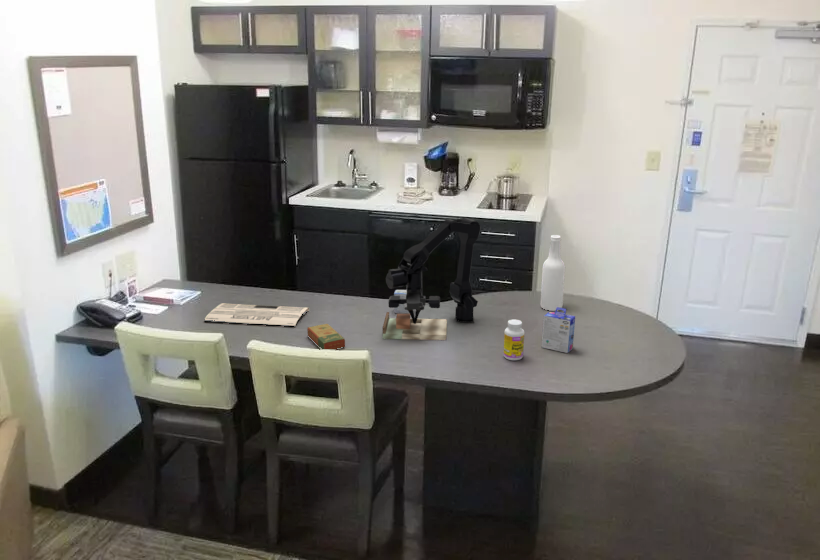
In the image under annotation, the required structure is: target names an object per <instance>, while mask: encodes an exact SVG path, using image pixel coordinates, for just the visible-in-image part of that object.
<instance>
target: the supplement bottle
mask: <svg viewBox="0 0 820 560" xmlns="http://www.w3.org/2000/svg"><path fill="white" fill-rule="evenodd" d="M522 327H523V322H522V320H520V319H515V318H514V319H513V318H512V319H508V321H507V327H506V328H505V329H504V333H503V334H504V337H503V357H504V358H505V359H507V360H509V361H520V360H521V359H523V357H524V345H525V330H524V329H523V328H522Z"/></svg>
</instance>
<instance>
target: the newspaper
mask: <svg viewBox="0 0 820 560" xmlns="http://www.w3.org/2000/svg"><path fill="white" fill-rule="evenodd" d="M306 311H309V312H310V307H303V306H302V307H301V306H300V307H299V306H283V305H282V306H281V305H262V304H261V305H260V304H243V303H242V304H241V303H239V304H238V303H223V302H222V303H219V304H218V305H217V306H216V307H214V308H213V309H212V310H211V311H209V313H208V314H207V315H206V316H205V318H204V319H205V320H213V321H214V320H215V321H225V322H236V323H249V324H268V325H289V326H296V327H297V325H296V324H297V322H298V320H299V319H300V318H301V316H303V315H302V314H303V313H304V312H306Z"/></svg>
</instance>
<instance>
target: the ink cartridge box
mask: <svg viewBox="0 0 820 560" xmlns="http://www.w3.org/2000/svg"><path fill="white" fill-rule="evenodd" d="M557 310H559V311H557ZM560 310H561V311H563V312H561V311H560ZM566 313H567V308H564V307H562V308H559V307H557V308H556V311H548V312H547V313H546V314H544V315H543V320H542V321H543V323H542V339H541V348H543V349H546V350H547V349H548V350H552V351H556V352H561V353H565V354H568V353H569V352H571V351H572V350H573V349H574V339H575V326H576V325H575V324H576V315H572V314H571V315H570V314H566Z"/></svg>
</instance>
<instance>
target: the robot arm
mask: <svg viewBox="0 0 820 560" xmlns="http://www.w3.org/2000/svg"><path fill="white" fill-rule="evenodd" d="M481 228H482V227H481V224H480V222H478V221H476V220H473V219H471V218H467V217H464V218H461V219H455V218H454V219H450V218H447V219H445V220H443V222H442V224H440V225H439V226H438V227H437V228H436V229H434V231H432V232H431V233H430V234H429V235H428V236H427V237H426V238H425V239H424V240H422V241H421V242H420V243H418V244H415V245H412V246H411V247H409V248H408V249H406V250H405V252H404V253H403V257H402V258H401V260H400V262H399V264H398V266H397V268H392V269H391V268H390V269H388V273H387V274H386V276H385V284H386V285H387V288H388V289H391V290H392V289H398V288H402V287H406V290H407V294H406V299H400V296H394V295H390V296H389V298H388V308H389V309H394V308H397V307H398V306H399V304H404V305H405V308H404V309H405V310H408V311H409V313H410V319H412V320H413V323H414V324H416V321H417V319H419V315H420V313H421V311H424V310H425V306H426V305H428V307H430V309H440V308H441V297H440V296H439V295H430V296H428V297H429V298H426V295H423V272H427V271H428V268H427V267H425V266H424V264H425V263H426V262H427V261H428V259H429V256H430V255H431V253H432V252H433V251H434V250H435V249H436V248H437V247H438V246H439V245H440V244H441V243H442V242H444V241H445V240H446V239H447V238H449V236H451V234H452V233H454V232H455V233H456V232H457V234H458V238H459V240H460V246H459V247H460V248H459V255H458V262H457V263H458V264H457V271H456V272H457V273H456V278H455V280H454V282H450V286H449V291H448V292H449V293H450V297H451V298H452V299H453V301H454V302H453V303H455V304H456V306H455V312H454V313H455V316H454V317H455V320H456V322H457V323H474V320H475V319H474V308H475V307H478V302H479V301H478V300H477V299H476V298H475V297H474V296H473V289H472V288H473V287H472V284H471V281H470V279H471V271H472V263H473V262H472V260H473V254H474V246H475V243H476V242H477V240H478V239H479V236H480V232H481ZM414 309H415V311H414Z"/></svg>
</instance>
